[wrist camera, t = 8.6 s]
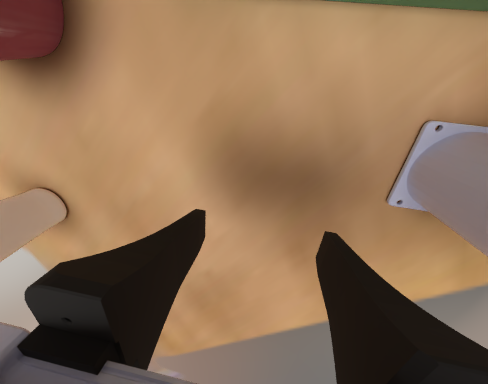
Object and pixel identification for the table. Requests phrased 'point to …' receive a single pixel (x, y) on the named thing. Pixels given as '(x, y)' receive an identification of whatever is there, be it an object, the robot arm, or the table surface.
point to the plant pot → (30, 28)
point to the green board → (431, 3)
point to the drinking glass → (27, 218)
